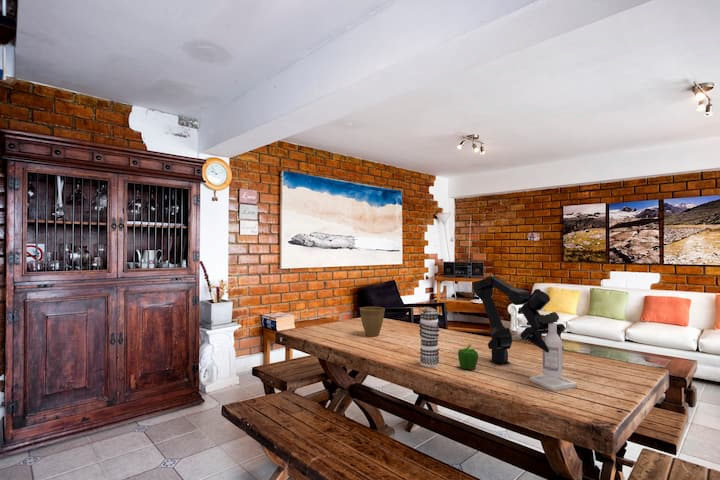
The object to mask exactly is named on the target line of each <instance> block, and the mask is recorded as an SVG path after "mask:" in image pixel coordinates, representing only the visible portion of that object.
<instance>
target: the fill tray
mask: <svg viewBox="0 0 720 480" xmlns="http://www.w3.org/2000/svg"><path fill="white" fill-rule="evenodd" d="M529 382H532V383H534V384H535V385H538V386H541V387H543V388H545V389H547V390H549V391H552V392H557V391H562V390H569V389H573V388H574V389H575V388H578V383H577V382H576V381H573V380H571V379H568V378H565V377H564V376H561V377H557V378H555V377H549V376H546V375H544V374H540V375H533V376H530V377H529Z"/></svg>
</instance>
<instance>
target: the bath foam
mask: <svg viewBox="0 0 720 480" xmlns="http://www.w3.org/2000/svg"><path fill="white" fill-rule="evenodd" d="M557 324H558V323H557V322H553V323H548V333H547V334H545V336H544V337H543V341H544V342H545V344H546V346H547V347H548V350H549V352H548V353H547V352H545V351H544V350H542V375H546V376H549V377H555V378H557V377H563V374H564V373H563V371H564V366H563V363H564V362H563V361H564V360H563V358H564V355H563V353H564V352H563V350H564V345H563V341H562V338H561V339H560V337H559V336H558V334H557ZM562 345H563V346H562Z"/></svg>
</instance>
